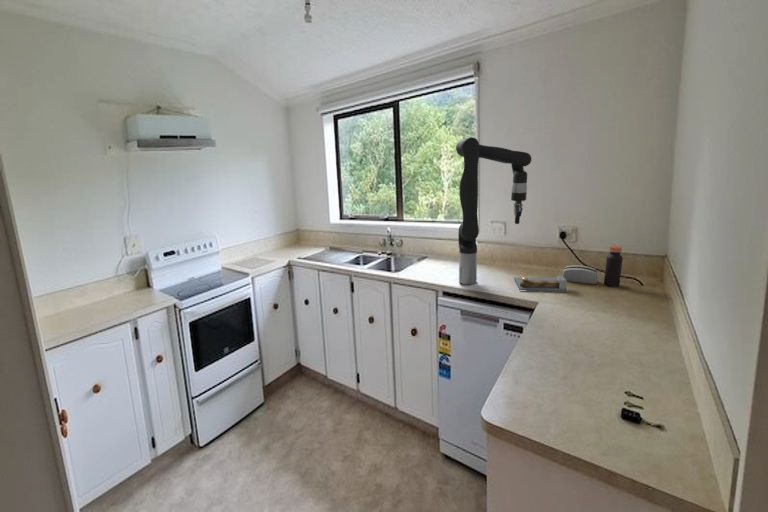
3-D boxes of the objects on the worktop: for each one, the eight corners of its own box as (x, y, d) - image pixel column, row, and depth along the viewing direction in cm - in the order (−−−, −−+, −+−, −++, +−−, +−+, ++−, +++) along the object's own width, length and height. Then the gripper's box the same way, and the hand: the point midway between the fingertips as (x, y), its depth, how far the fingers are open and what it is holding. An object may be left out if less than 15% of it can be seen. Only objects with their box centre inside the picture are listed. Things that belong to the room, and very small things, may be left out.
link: (520, 287, 185) (521, 282, 184) (519, 284, 189) (519, 279, 189) (564, 287, 181) (565, 283, 181) (562, 284, 185) (562, 280, 185)
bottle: (605, 282, 190) (610, 244, 185) (620, 284, 186) (625, 246, 181) (601, 285, 186) (606, 247, 181) (617, 288, 181) (622, 249, 176)
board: (519, 291, 184) (519, 288, 184) (514, 279, 201) (514, 277, 201) (566, 292, 180) (567, 289, 180) (557, 280, 197) (557, 278, 197)
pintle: (522, 281, 185) (522, 278, 185) (521, 279, 188) (521, 277, 187) (528, 281, 185) (528, 278, 184) (527, 279, 187) (527, 277, 187)
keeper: (559, 289, 180) (559, 280, 179) (555, 284, 187) (556, 275, 186) (565, 289, 180) (566, 280, 179) (561, 284, 187) (562, 275, 185)
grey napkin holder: (597, 281, 193) (599, 265, 187) (597, 286, 189) (598, 271, 184) (562, 277, 201) (563, 262, 196) (561, 282, 198) (562, 267, 192)
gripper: (510, 190, 202) (508, 221, 206) (513, 192, 189) (511, 225, 194) (524, 190, 200) (522, 221, 205) (528, 192, 188) (526, 225, 192)
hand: (517, 223), depth 199 cm, fingers closed
